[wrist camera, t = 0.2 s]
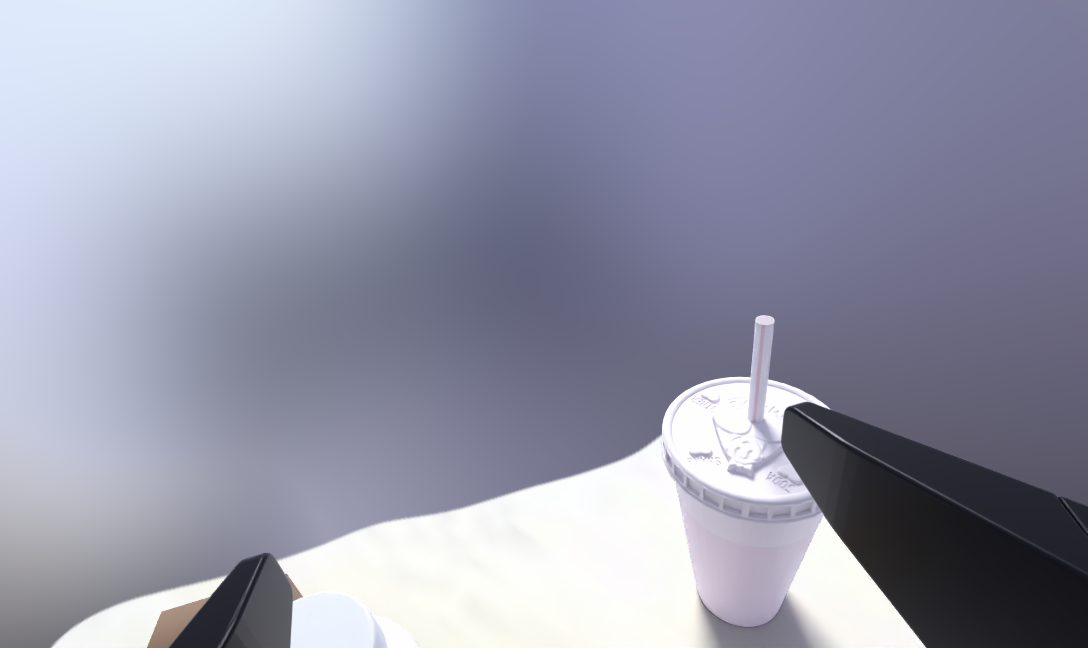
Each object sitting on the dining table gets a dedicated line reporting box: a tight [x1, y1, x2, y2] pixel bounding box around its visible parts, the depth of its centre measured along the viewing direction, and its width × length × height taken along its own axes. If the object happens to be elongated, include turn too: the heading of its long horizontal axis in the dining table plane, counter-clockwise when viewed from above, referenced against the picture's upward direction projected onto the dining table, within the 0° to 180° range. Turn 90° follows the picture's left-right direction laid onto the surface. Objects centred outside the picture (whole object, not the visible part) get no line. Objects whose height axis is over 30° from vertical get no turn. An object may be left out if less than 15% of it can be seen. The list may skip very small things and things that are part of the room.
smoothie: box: [661, 316, 831, 627], centre depth 20 cm, size 6×6×14 cm
